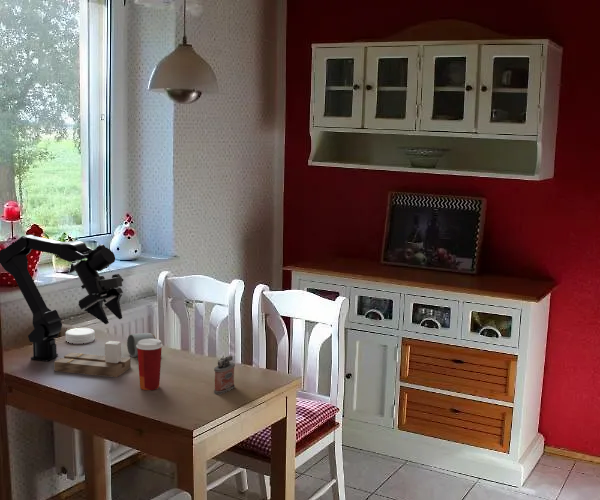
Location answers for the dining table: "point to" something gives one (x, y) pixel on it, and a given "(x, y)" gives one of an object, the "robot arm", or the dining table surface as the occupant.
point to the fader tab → (113, 352)
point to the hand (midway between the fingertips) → (114, 321)
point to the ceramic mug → (134, 340)
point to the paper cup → (149, 363)
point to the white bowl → (80, 335)
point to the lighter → (224, 375)
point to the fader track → (91, 365)
